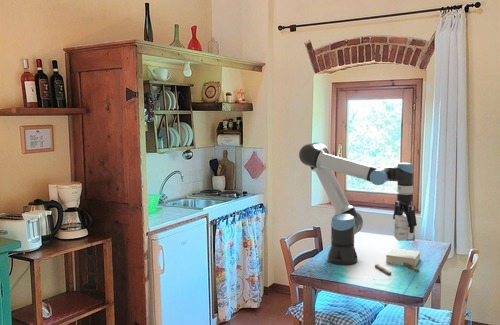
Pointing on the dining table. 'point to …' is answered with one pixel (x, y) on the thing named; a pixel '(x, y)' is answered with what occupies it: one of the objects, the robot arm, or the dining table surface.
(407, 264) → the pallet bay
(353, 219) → the robot arm
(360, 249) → the dining table surface
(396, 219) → the ink box
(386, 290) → the dining table surface
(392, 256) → the block
